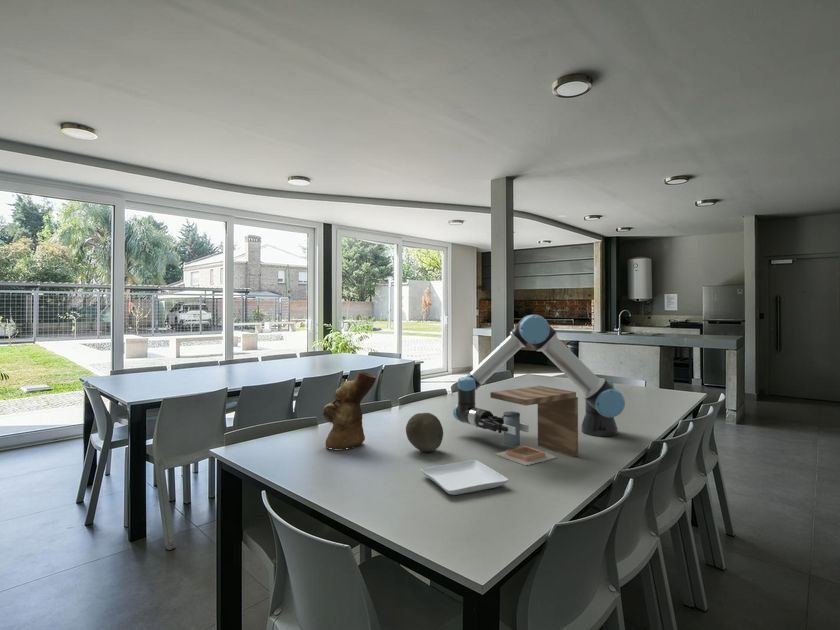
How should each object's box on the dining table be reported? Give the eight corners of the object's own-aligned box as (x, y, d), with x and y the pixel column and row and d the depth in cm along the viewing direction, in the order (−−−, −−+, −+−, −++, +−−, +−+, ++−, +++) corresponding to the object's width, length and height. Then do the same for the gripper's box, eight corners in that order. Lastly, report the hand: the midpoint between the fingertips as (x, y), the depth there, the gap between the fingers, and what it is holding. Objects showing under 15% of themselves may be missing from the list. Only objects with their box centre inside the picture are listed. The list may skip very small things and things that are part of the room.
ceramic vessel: (324, 440, 198) (324, 369, 198) (376, 438, 200) (376, 368, 200) (321, 451, 182) (320, 374, 182) (377, 449, 185) (376, 373, 185)
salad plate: (448, 501, 135) (448, 489, 135) (419, 477, 154) (419, 467, 154) (510, 490, 143) (510, 478, 143) (475, 468, 162) (475, 459, 162)
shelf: (541, 444, 189) (540, 385, 189) (578, 456, 174) (577, 391, 174) (490, 456, 175) (490, 392, 175) (526, 470, 160) (525, 399, 159)
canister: (512, 441, 184) (511, 410, 184) (523, 444, 179) (523, 413, 179) (500, 443, 181) (500, 412, 181) (511, 447, 176) (511, 415, 176)
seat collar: (525, 447, 186) (525, 442, 186) (557, 457, 173) (557, 452, 173) (495, 454, 177) (495, 449, 177) (526, 466, 164) (526, 460, 164)
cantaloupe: (435, 445, 190) (435, 408, 190) (448, 455, 177) (448, 415, 177) (402, 448, 186) (401, 410, 186) (412, 459, 172) (412, 418, 172)
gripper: (498, 424, 200) (539, 436, 181) (463, 430, 190) (502, 443, 170) (498, 406, 200) (539, 416, 181) (463, 412, 190) (502, 423, 170)
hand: (521, 429), depth 176 cm, fingers closed on canister, 6 cm apart
